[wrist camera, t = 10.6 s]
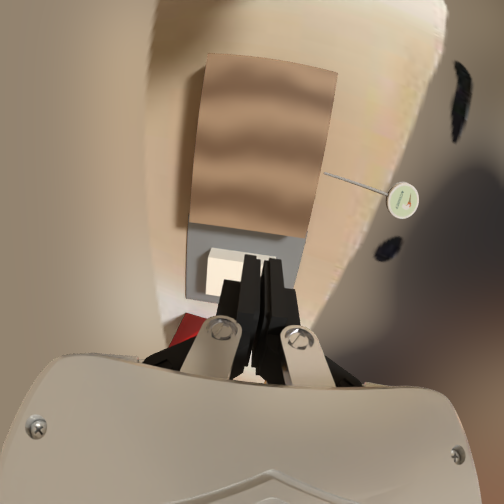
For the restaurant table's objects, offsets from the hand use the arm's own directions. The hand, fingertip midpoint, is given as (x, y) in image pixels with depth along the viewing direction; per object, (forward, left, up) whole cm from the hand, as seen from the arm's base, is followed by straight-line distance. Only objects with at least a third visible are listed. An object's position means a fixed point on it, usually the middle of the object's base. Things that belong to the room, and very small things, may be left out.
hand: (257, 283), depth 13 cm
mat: (+13, -1, -23) cm, 27 cm away
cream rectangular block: (+13, -1, -20) cm, 24 cm away
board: (-4, -1, -23) cm, 24 cm away
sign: (-1, +15, -24) cm, 28 cm away
